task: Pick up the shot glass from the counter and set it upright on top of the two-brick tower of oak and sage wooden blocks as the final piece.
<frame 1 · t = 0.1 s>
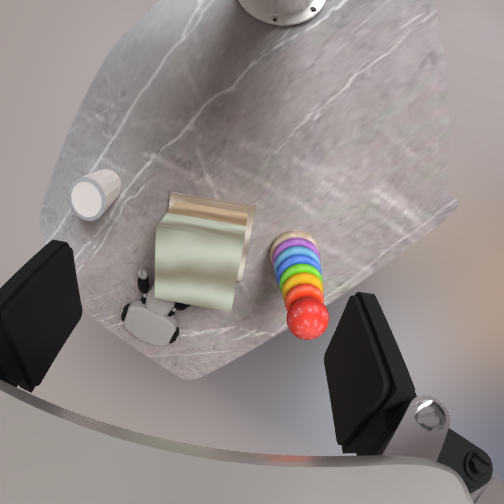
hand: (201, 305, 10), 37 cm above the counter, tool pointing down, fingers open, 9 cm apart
robot toy: (159, 303, 57), on the counter
stacking toy: (294, 251, 50), on the counter
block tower: (208, 236, 49), on the counter
shot glass: (107, 185, 46), on the counter
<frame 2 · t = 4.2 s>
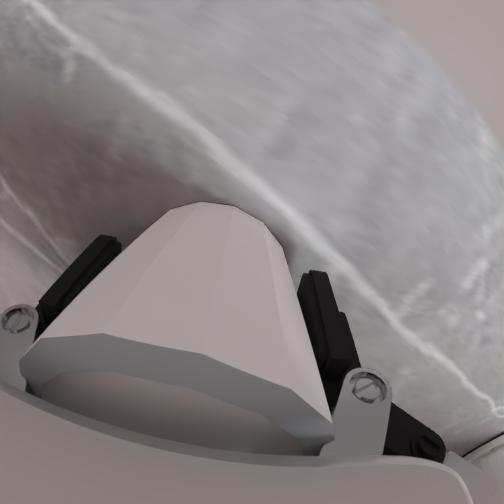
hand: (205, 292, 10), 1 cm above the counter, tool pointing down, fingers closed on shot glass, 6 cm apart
shot glass: (210, 272, 11), on the counter, touching gripper
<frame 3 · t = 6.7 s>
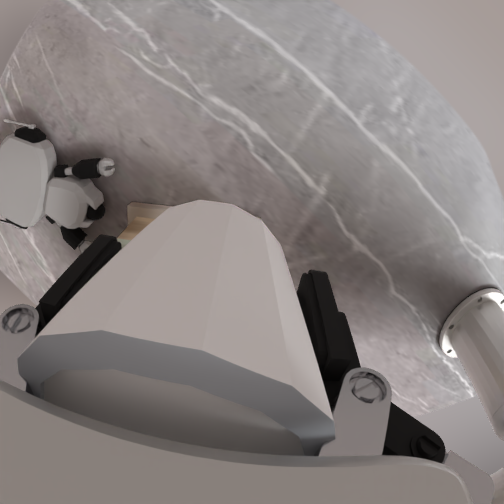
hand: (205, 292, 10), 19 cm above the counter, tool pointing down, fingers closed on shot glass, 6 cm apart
robot toy: (58, 181, 28), on the counter
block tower: (190, 266, 32), on the counter
shot glass: (209, 270, 11), point 18 cm above the counter, touching gripper
when the fingers open (13 cm above the counter, at t = 9.5 s): shot glass moves 1 cm, resting on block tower.
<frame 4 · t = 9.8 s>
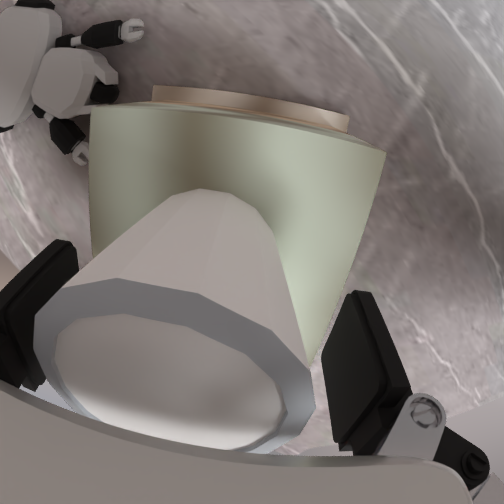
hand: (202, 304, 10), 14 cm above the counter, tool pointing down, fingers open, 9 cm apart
robot toy: (57, 70, 18), on the counter
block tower: (236, 184, 22), on the counter
shot glass: (207, 254, 12), point 11 cm above the counter, touching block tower
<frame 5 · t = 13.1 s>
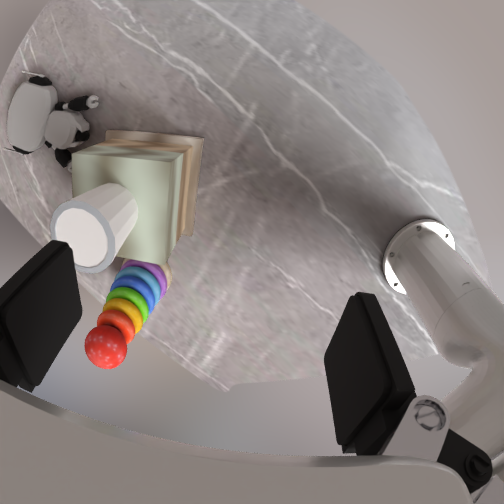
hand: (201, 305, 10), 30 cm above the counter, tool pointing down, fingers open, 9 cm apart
robot toy: (57, 118, 35), on the counter
stacking toy: (148, 269, 45), on the counter
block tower: (150, 180, 39), on the counter
shot glass: (114, 208, 29), point 11 cm above the counter, touching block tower
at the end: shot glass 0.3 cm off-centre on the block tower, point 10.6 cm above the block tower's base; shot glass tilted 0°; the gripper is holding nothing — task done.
